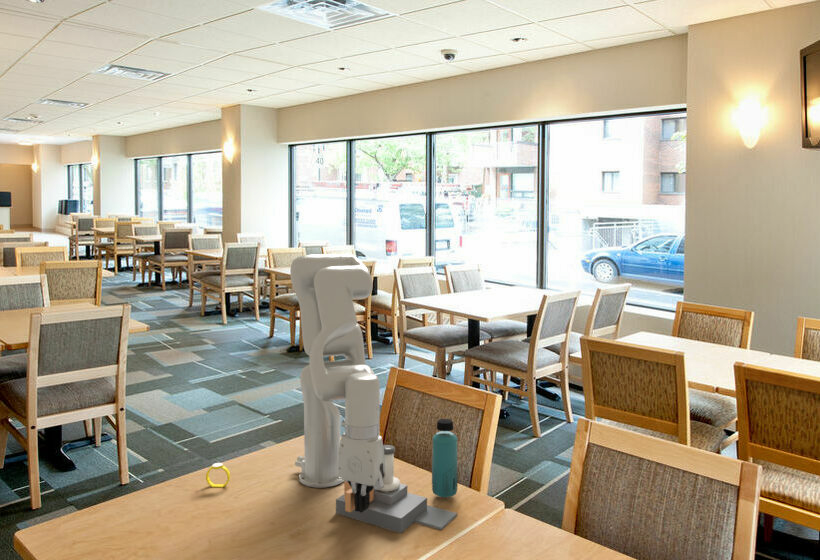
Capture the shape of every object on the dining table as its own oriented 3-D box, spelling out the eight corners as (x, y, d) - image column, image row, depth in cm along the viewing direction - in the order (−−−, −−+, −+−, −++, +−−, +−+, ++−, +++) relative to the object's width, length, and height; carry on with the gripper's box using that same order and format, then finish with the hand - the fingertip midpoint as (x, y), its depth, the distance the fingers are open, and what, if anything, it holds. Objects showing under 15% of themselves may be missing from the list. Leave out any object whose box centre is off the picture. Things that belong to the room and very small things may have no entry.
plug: (367, 497, 152) (367, 449, 151) (382, 487, 157) (382, 441, 156) (390, 503, 149) (390, 455, 147) (404, 493, 154) (405, 446, 153)
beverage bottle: (455, 504, 156) (457, 425, 154) (429, 501, 158) (430, 423, 155) (459, 493, 163) (460, 417, 160) (433, 490, 164) (434, 415, 162)
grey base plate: (336, 513, 151) (336, 491, 151) (364, 494, 161) (364, 473, 161) (400, 533, 142) (401, 509, 142) (426, 511, 152) (427, 489, 152)
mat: (410, 521, 148) (410, 518, 148) (427, 507, 155) (427, 505, 155) (441, 530, 144) (441, 527, 144) (456, 515, 151) (456, 513, 151)
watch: (205, 489, 164) (203, 467, 163) (209, 485, 167) (207, 463, 166) (228, 488, 164) (226, 466, 163) (232, 483, 167) (229, 461, 166)
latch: (330, 508, 145) (329, 487, 145) (358, 490, 155) (358, 470, 154) (351, 515, 142) (351, 493, 142) (378, 496, 152) (378, 476, 151)
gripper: (324, 428, 140) (324, 508, 142) (381, 441, 133) (381, 525, 135) (344, 419, 147) (344, 495, 149) (400, 431, 139) (399, 510, 141)
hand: (362, 509), depth 142 cm, fingers closed
